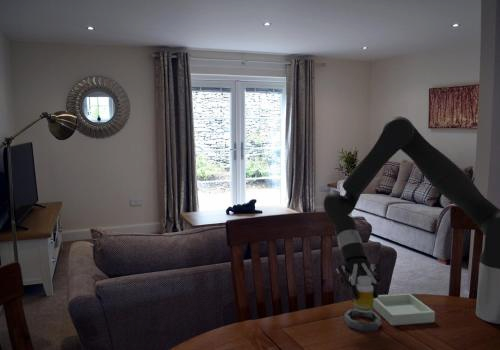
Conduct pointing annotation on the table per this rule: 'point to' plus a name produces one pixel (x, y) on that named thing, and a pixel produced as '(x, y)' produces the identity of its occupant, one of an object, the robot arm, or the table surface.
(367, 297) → the supplement bottle
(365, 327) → the holder ring
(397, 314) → the tray
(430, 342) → the table surface
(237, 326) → the table surface
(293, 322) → the table surface
